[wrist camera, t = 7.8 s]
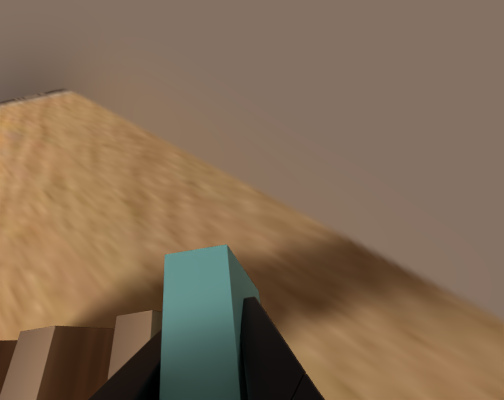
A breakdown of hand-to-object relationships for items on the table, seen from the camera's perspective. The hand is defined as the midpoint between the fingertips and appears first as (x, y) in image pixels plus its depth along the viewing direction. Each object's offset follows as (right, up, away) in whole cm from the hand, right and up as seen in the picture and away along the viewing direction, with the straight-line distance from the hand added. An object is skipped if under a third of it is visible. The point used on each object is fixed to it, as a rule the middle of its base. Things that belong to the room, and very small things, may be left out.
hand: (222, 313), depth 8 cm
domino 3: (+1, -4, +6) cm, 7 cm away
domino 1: (-7, -9, +10) cm, 15 cm away
